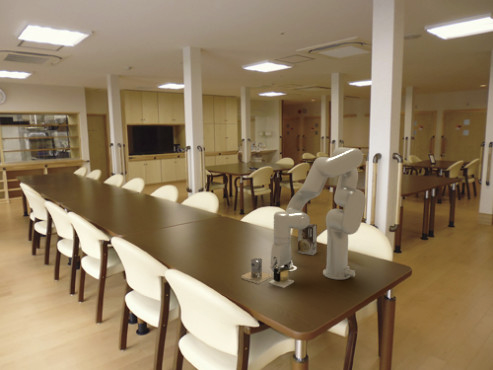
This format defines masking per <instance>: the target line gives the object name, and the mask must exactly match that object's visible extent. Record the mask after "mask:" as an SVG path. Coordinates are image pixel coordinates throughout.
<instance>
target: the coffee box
mask: <svg viewBox="0 0 493 370" xmlns="http://www.w3.org/2000/svg"><path fill="white" fill-rule="evenodd" d="M297 230H298V233H297V234H298V235H297V242H298V243H297V254H303V255H308V256H314V255H315V254H317V247H318V246H317V242H318V241H317V240H318V239H317V238H318V237H317V236H318V224H315V223H310V224H309V225H308V226H307V227H306V228H304V229H297Z"/></svg>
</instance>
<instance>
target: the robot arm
mask: <svg viewBox="0 0 493 370" xmlns="http://www.w3.org/2000/svg"><path fill="white" fill-rule="evenodd" d="M331 154H332V155H331V157H327V156H320V157H318V158H316V159H314V161H313V163H312V165H311V166H310V170H309V172H308V174H307V176H306V178H305V181H304V182H303V184H302V186H301V187H300V188H299V190H297V192H296V193H295V194H294V195H293V196H292V197H291V199H290V200H289V203H288V204H287V207H286V209H285V211H276V212H275V213H274V214H273V243H272V246H271V254H270V266H269V267H270V268H269V269H271V270H272V273H273V279H274V281H277V282H280V273H279V272H280V268H281V266H283V265H284V267H288V270H290V269H289V268H290V263H291V260H292V261H293V256H292V246H291V241H292V240H291V238H292V237H291V234H292V233H291V230H292V229H294V230H298V229H304V228H306V227H307V226H308V225H309V224H311V223H310V222H311V218H310V216H309V215H308V214H307V213H305V212H304V211H302V210H303V208H304V207H305V205H306V204H307V203H308V202H309V201H310V200H312V199H314V198H317V197H318V196H320V195H321V193H322V191H323V189H324V187H325V185H326V182H327V180H328V178H332V179H333V178H336V177H338V178H337V179H338V181H337V185H336V188H335V192H334V197H333V200H334V203H335V204H336V205H337V206H340V207H342V208H344V209H341V208H332V209H330V210H329V211H328V212H327V213H326V216H325V224H326V231H327V234H326V235H327V236H326V238H327V239H326V264H325V265H326V268H324V269H323V271H322V275H323V276H324V277H326V278H328V279H331V280H337V281H338V280H341V281H342V280H347V279H349V278H350V277H355V276H356V271H355V270H353V269H351V268H350V266H349V265H348V260H349V259H348V256H349V252H348V251H349V236H350V235H353V234H355V233H357V232H358V231H359V228H360V226H361V224H362V219H363V215H364V212H365V208H366V206H367V205H366V204H367V200H366V195H365V193H364V192H363V191H362V190H361V189H358V188H357V187H358V186H357V185H358V180H359V172H358V168H359V166H361V164H363V161H364V154H363V152H362V150H360V149H359V148H356V147H355V148H354V147H344V146H342V147H341V146H339V147H337V148H335V149H334V150H333V152H332V153H331ZM276 268H278V270H277V269H276Z"/></svg>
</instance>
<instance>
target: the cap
mask: <svg viewBox="0 0 493 370" xmlns="http://www.w3.org/2000/svg"><path fill="white" fill-rule="evenodd" d="M276 269H277V270H278V267H276ZM289 270H290V269H289ZM289 270H288V267H281V268H280V272H279V273H280V281H287V280H288V279H289V277H290V271H289Z"/></svg>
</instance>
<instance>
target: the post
mask: <svg viewBox="0 0 493 370" xmlns="http://www.w3.org/2000/svg"><path fill="white" fill-rule="evenodd" d="M240 278H241V279H243V280H245V281H248V282H251V283H254V284H256V285H259V284H261V283H264V282H265V281H267V280H269V279H271V278H272V274H270V273H267V272H263V260H262V258H256V257H255V258H251V260H250V271H249V272H246V273H245V274H242V275H241V277H240Z"/></svg>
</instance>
